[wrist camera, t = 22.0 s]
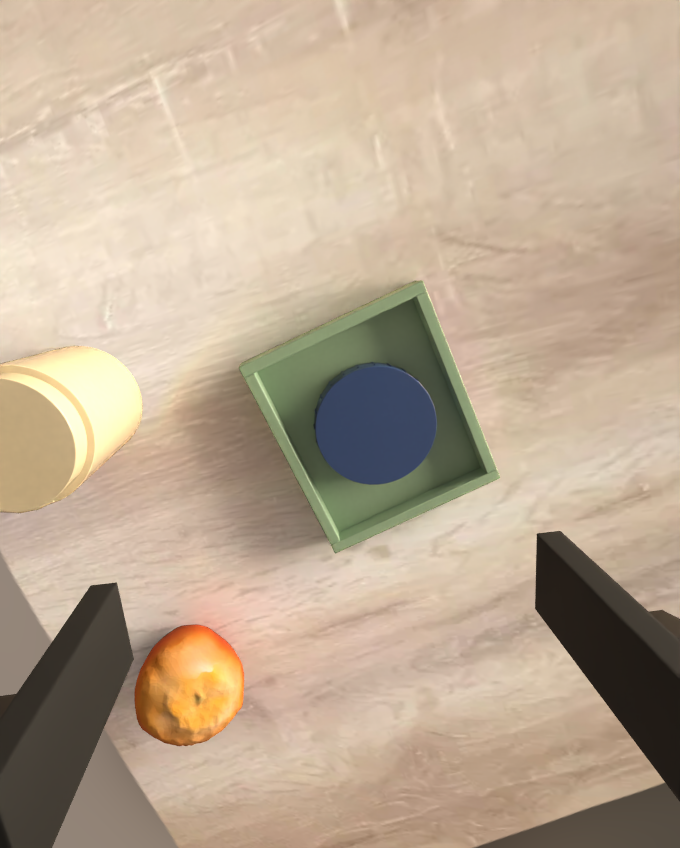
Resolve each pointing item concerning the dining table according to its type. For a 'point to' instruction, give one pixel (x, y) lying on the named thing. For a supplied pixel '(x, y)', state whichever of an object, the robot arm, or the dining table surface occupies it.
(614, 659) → the robot arm
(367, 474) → the lid
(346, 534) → the tray
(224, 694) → the fruit
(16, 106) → the dining table surface
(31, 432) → the jar
